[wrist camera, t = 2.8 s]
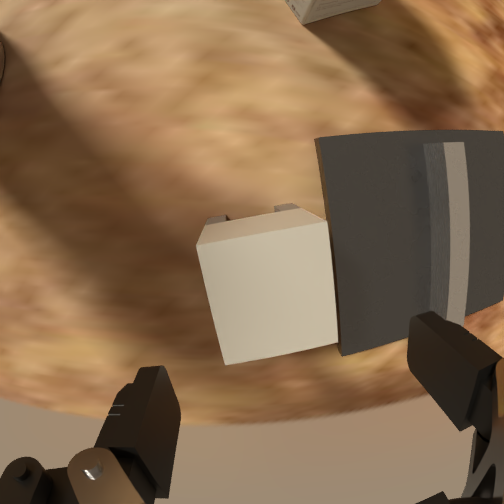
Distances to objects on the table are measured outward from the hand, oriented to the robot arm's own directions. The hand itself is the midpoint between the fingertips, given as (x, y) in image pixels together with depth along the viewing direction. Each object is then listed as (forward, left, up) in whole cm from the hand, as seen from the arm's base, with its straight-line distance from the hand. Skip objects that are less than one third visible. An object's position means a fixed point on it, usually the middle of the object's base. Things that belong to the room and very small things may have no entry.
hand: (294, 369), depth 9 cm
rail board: (+1, +14, -13) cm, 19 cm away
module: (0, 0, -13) cm, 13 cm away
